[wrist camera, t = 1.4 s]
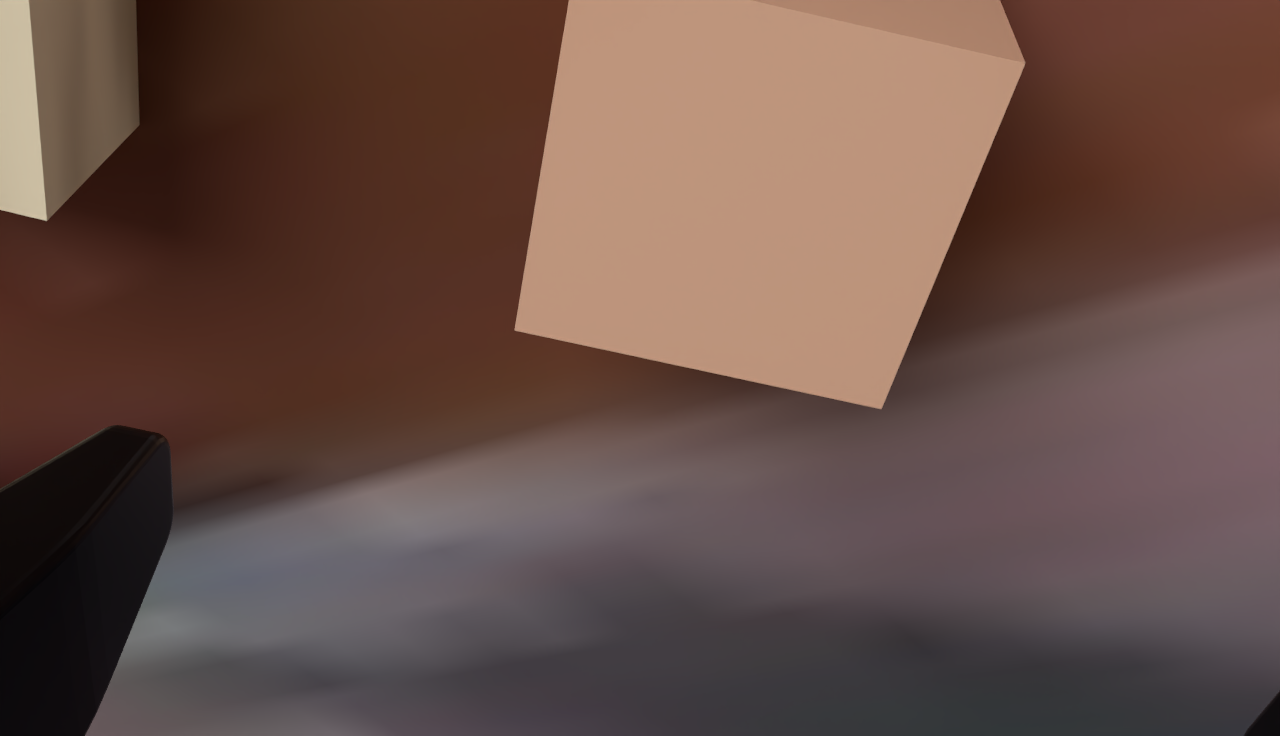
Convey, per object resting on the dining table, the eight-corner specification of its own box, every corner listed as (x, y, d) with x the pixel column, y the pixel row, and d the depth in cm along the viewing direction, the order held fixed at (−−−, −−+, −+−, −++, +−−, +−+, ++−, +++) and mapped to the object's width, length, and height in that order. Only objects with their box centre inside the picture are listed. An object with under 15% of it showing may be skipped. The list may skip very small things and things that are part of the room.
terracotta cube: (968, -78, 17) (1025, 63, 13) (861, 221, 20) (881, 409, 16) (624, -158, 17) (575, -40, 13) (567, 156, 20) (514, 330, 16)
